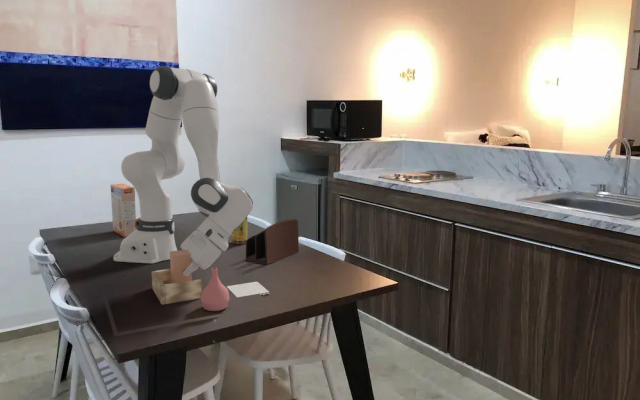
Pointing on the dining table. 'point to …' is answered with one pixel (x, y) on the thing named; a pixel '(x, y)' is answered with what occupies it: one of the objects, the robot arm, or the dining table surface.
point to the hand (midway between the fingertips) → (180, 270)
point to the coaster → (248, 289)
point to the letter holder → (273, 242)
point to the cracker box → (123, 209)
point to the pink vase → (215, 294)
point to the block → (179, 265)
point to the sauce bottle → (240, 233)
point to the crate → (174, 288)
